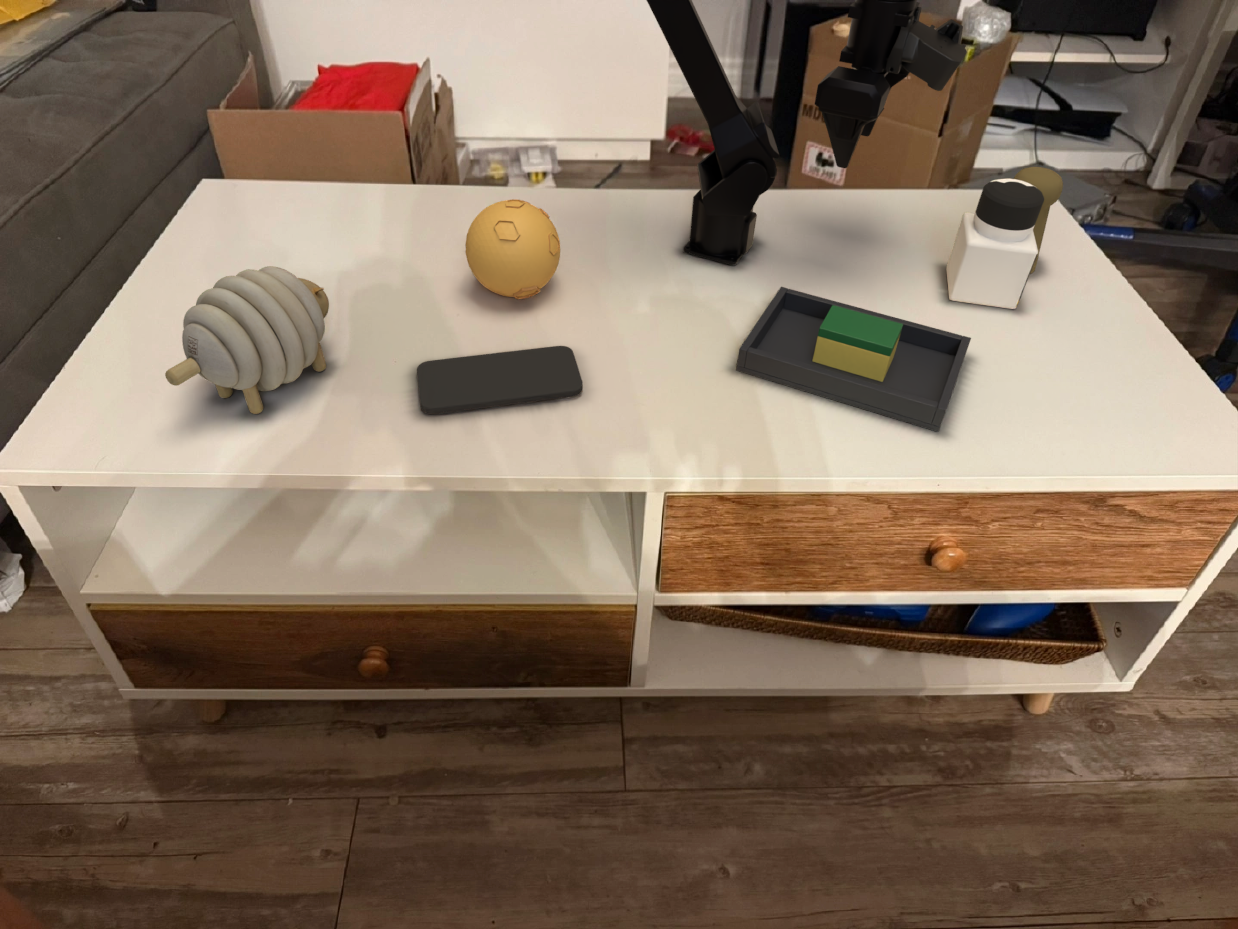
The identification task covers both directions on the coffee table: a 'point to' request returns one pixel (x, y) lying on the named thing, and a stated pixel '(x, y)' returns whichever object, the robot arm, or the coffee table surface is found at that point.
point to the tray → (905, 393)
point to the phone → (498, 379)
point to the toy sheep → (253, 333)
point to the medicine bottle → (996, 245)
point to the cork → (1051, 191)
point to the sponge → (857, 343)
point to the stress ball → (513, 248)
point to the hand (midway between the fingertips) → (853, 150)
